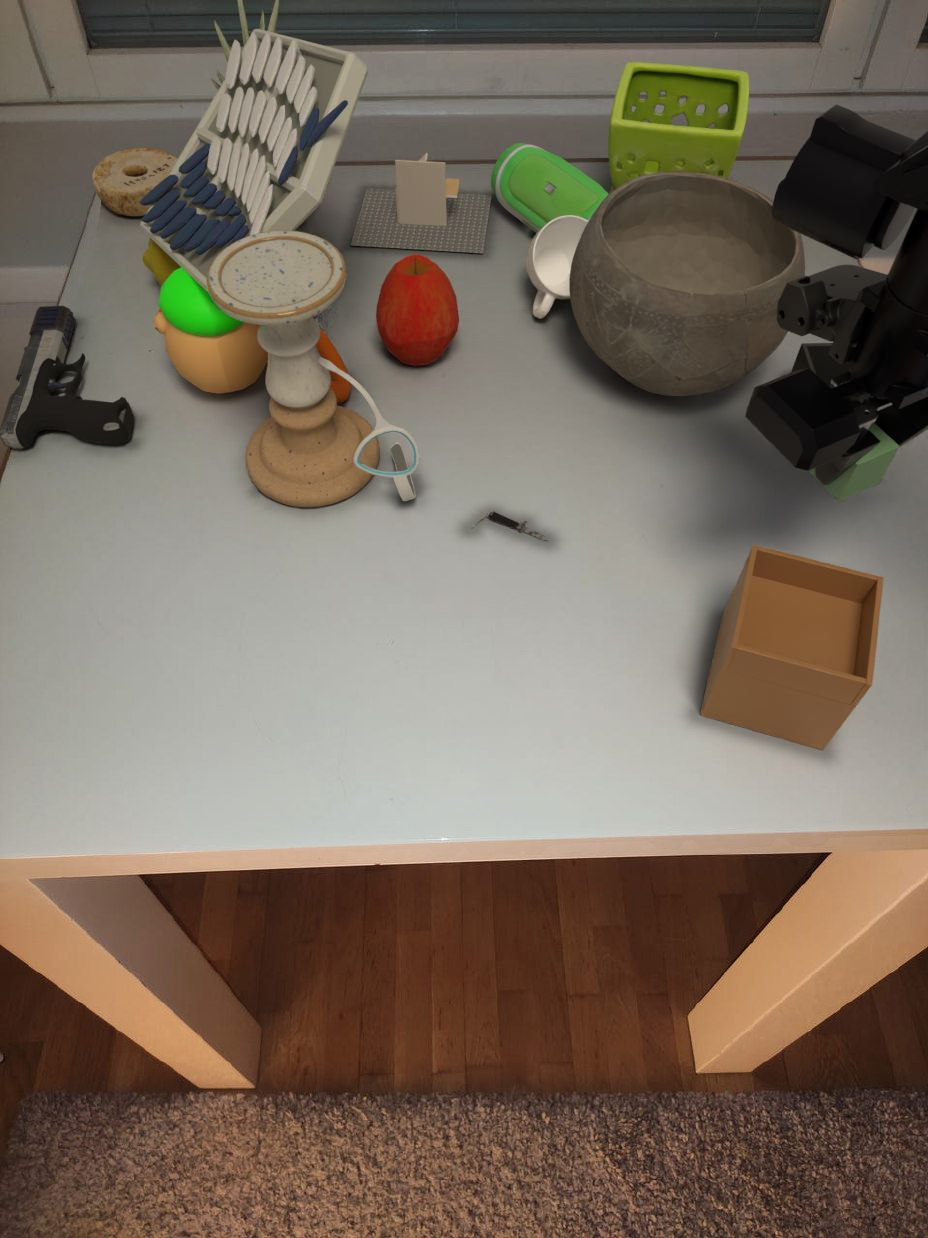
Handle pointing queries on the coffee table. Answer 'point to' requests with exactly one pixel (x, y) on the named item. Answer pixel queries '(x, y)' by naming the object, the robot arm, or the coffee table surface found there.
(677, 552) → the coffee table surface
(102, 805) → the coffee table surface
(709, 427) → the coffee table surface
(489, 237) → the coffee table surface
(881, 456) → the block
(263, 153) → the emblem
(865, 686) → the box
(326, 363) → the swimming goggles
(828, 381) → the black open box
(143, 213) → the stone disc
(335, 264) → the candle holder
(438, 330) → the apple
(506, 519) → the knife
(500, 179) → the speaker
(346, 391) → the orange flat curved piece
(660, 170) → the flower pot
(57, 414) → the handgun
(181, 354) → the figurine
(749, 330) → the bowl
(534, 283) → the cup
